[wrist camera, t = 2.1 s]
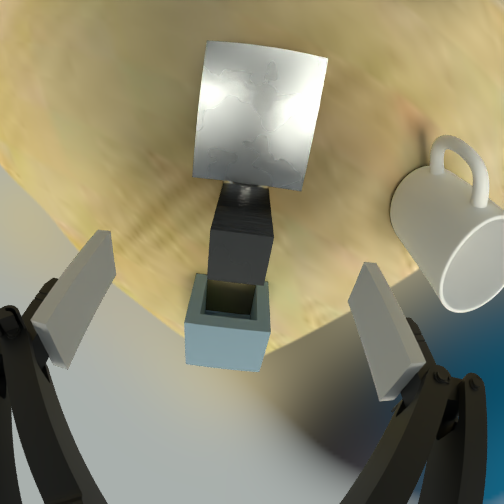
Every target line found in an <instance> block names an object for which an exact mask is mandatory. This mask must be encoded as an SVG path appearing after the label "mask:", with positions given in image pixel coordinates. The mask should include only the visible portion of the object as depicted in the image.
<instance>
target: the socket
mask: <svg viewBox="0 0 504 504" xmlns="http://www.w3.org/2000/svg"><path fill="white" fill-rule="evenodd" d="M206 294H207V275H204V274H197V273H196V277H195V281H194V285H193V289H192V293H191V297H190V301H189V305H188V309H187V314H186V318H185V322H184V326H185V353H186V364H190V365H197V366H205V367H213V368H221V369H231V370H241V371H253V372H259V370H260V367H261V364H262V360H263V357H264V354H265V350H266V347H267V343H268V340H269V336H270V333H271V329H270V309H269V289H268V282H264V286H260V285H256V288H255V293H254V298H253V303H252V309H251V314H250V315H245V314H236V313H227V312H218V311H210V310H206Z"/></svg>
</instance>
